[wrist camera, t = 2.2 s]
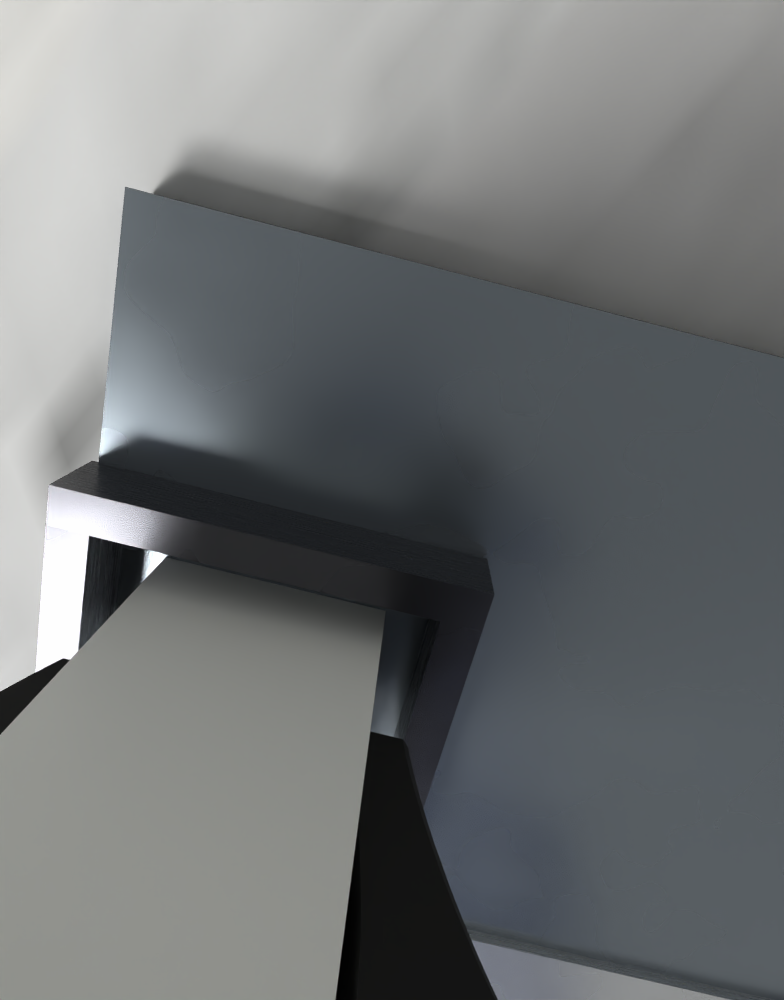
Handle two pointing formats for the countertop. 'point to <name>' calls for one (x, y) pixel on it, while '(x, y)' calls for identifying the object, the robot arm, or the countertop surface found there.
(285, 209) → the countertop surface
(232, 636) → the white rectangular block
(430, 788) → the panel
